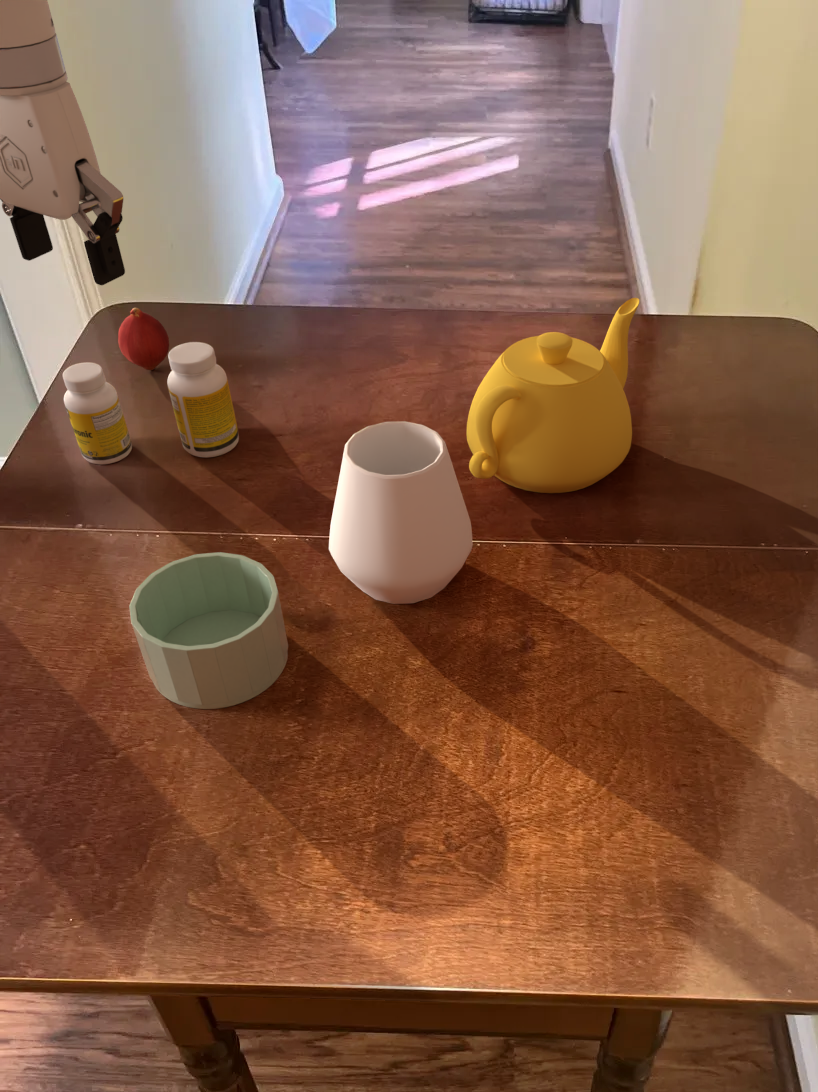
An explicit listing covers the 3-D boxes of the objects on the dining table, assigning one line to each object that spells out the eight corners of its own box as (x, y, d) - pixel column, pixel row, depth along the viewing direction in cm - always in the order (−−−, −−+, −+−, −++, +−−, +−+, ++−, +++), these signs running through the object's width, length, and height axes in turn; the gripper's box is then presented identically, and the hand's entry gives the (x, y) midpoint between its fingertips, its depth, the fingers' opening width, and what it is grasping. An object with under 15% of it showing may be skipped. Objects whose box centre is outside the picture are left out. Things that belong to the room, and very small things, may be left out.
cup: (316, 612, 90) (297, 486, 80) (350, 522, 99) (337, 400, 89) (461, 626, 88) (460, 501, 78) (482, 534, 98) (483, 412, 88)
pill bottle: (250, 436, 110) (233, 345, 102) (218, 465, 106) (197, 372, 98) (205, 423, 112) (185, 333, 104) (171, 451, 108) (147, 359, 100)
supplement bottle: (73, 450, 108) (46, 369, 101) (119, 432, 110) (96, 352, 103) (94, 472, 105) (68, 390, 98) (141, 454, 107) (119, 373, 100)
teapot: (568, 379, 119) (577, 269, 109) (687, 437, 110) (708, 323, 101) (416, 462, 106) (410, 346, 97) (536, 535, 98) (543, 415, 88)
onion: (128, 359, 122) (111, 297, 116) (175, 355, 123) (161, 294, 117) (125, 383, 118) (107, 320, 112) (174, 378, 119) (159, 316, 113)
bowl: (133, 708, 81) (111, 648, 76) (169, 610, 90) (151, 550, 85) (275, 711, 81) (262, 652, 76) (298, 612, 89) (288, 553, 85)
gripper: (-93, 57, 81) (-20, 260, 93) (50, 92, 75) (109, 305, 87) (-17, 37, 86) (43, 233, 98) (124, 68, 79) (170, 274, 91)
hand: (74, 267), depth 92 cm, fingers open, 9 cm apart
